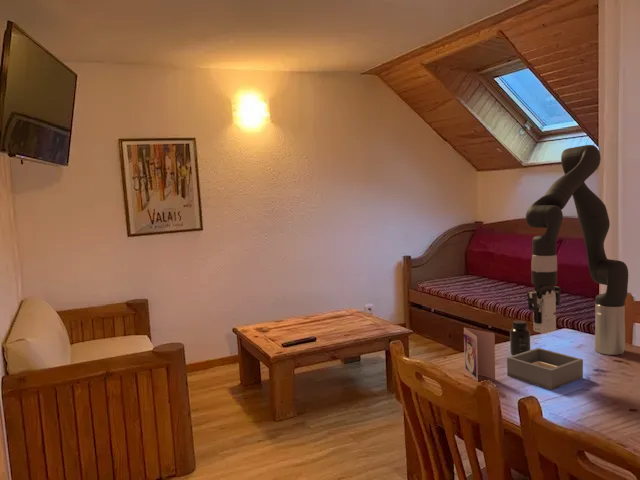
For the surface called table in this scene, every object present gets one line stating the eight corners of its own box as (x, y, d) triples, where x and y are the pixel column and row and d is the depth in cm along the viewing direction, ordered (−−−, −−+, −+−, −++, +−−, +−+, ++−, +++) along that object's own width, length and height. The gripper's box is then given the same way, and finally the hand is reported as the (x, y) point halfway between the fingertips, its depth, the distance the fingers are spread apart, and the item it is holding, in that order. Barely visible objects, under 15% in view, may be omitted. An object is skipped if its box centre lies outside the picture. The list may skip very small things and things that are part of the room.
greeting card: (462, 371, 180) (461, 327, 179) (483, 369, 181) (482, 326, 180) (475, 383, 169) (474, 336, 168) (497, 381, 170) (497, 335, 168)
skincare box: (545, 334, 167) (545, 295, 166) (532, 331, 171) (532, 293, 170) (556, 330, 171) (556, 292, 169) (544, 327, 174) (544, 290, 173)
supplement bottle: (532, 352, 196) (532, 320, 195) (528, 358, 190) (528, 325, 189) (512, 350, 200) (512, 318, 199) (508, 355, 194) (507, 323, 193)
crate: (538, 364, 183) (538, 347, 183) (582, 377, 170) (582, 359, 169) (507, 375, 175) (507, 357, 174) (551, 390, 161) (551, 370, 161)
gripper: (547, 265, 176) (547, 315, 177) (519, 270, 168) (519, 323, 170) (569, 267, 169) (569, 319, 171) (540, 273, 162) (540, 327, 163)
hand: (544, 321), depth 170 cm, fingers closed on skincare box, 6 cm apart
